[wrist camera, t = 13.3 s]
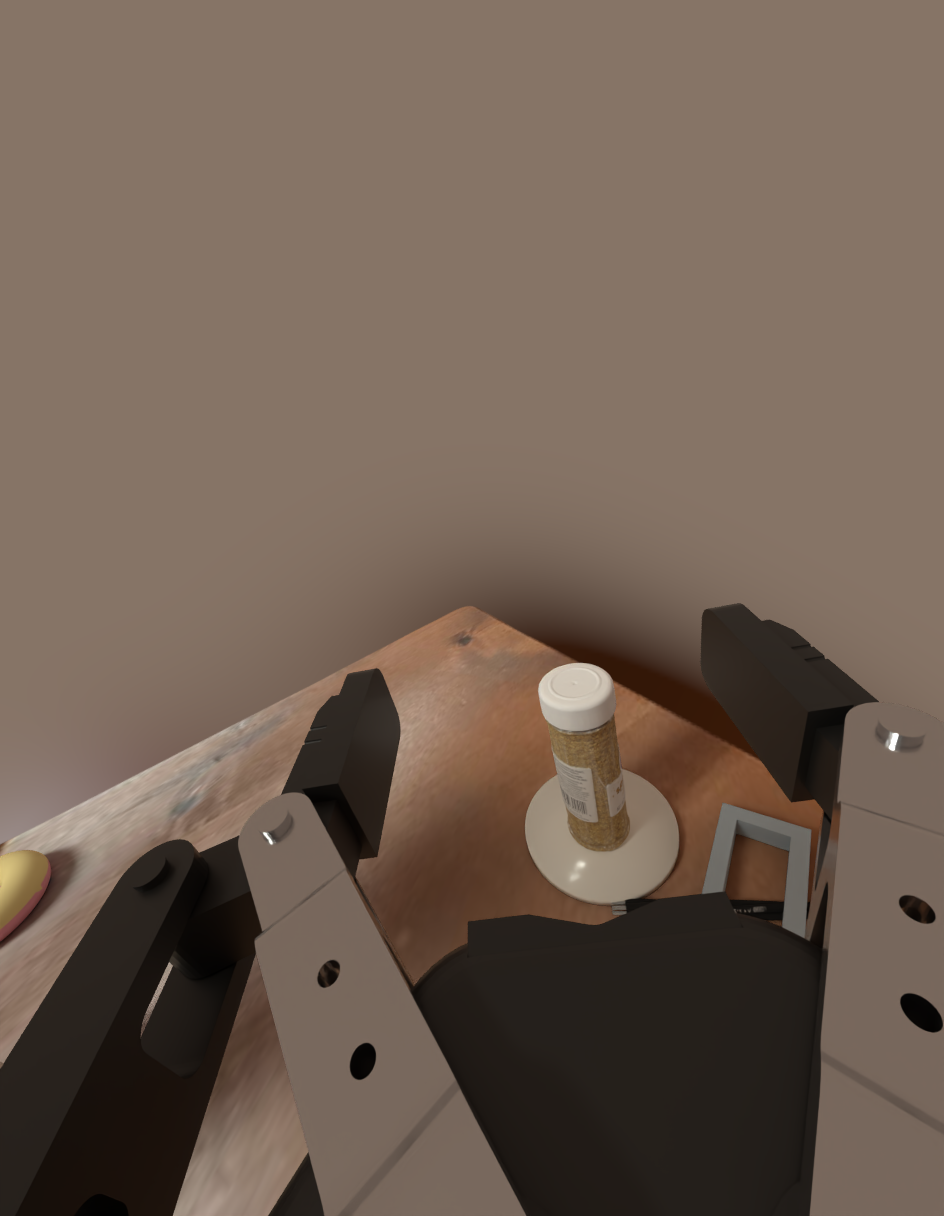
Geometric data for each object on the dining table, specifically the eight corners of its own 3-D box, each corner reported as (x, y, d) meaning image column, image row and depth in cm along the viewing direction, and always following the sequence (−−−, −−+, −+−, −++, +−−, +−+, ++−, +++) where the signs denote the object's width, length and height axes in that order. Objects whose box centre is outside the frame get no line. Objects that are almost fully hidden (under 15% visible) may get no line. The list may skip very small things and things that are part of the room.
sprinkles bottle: (644, 837, 32) (629, 688, 26) (586, 865, 31) (558, 718, 25) (607, 790, 36) (587, 651, 30) (556, 813, 35) (525, 676, 29)
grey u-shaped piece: (667, 1061, 22) (666, 1048, 22) (722, 816, 32) (722, 802, 32) (790, 1141, 19) (793, 1129, 19) (808, 844, 29) (811, 829, 29)
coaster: (500, 861, 33) (498, 856, 33) (562, 754, 41) (561, 750, 40) (654, 939, 27) (653, 934, 26) (694, 796, 34) (694, 790, 34)
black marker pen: (613, 920, 28) (612, 911, 28) (611, 903, 29) (610, 894, 29) (834, 925, 26) (836, 915, 25) (825, 907, 26) (827, 897, 26)
